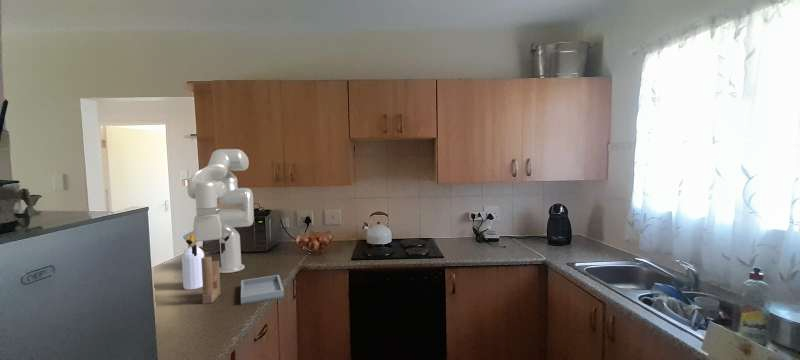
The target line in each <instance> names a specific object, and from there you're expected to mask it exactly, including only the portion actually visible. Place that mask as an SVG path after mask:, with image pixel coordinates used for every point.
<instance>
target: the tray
mask: <svg viewBox="0 0 800 360" xmlns="http://www.w3.org/2000/svg"><path fill="white" fill-rule="evenodd" d="M283 298H285V289H284V286H283V283H282V279H281V276H280V274H273V275H269V276H261V277H256V278H255V277H254V278H248V279H241V280H240V305H241V306H242V305H249V304H254V303H260V302H265V301H272V300H276V299H283Z"/></svg>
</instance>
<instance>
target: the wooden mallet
mask: <svg viewBox="0 0 800 360" xmlns="http://www.w3.org/2000/svg"><path fill="white" fill-rule="evenodd" d="M201 263H202V281H203V287H202V293H203V294H202V304H203V305H204V304H205V305H206V304H212V303H214V302H215V300H216V299H217V298H218V297H219V296H220V295H221V279H220V278H221V273H220V270H219V268H220V260H213V259H212V256H204V257H203V258H202V259H201Z"/></svg>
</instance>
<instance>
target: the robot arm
mask: <svg viewBox="0 0 800 360" xmlns="http://www.w3.org/2000/svg"><path fill="white" fill-rule="evenodd" d="M249 164H250V162H249V157H248V156H247V154H246V153H245V152H244V151H243V150H241V149H238V148H228V149H227V148H223V149H222V148H220V149H217V150H214V151H213V152H212V153H211V156H210V159H209V161H208V163H207V165H206V166H204V167H203V168H201V169H199V170H197V171H196V172H194V173H193V174H192V175H191V177H190V179H189V181H188V183H187V195H188V197H189V198H191V199H193V200H195V213H196V215H195V216H194V218H193V227H192V228H193V230H191V231H190V232H188V233H186V234H184V235H183V237H182V238H183V240H184V241H185V242H186V244H187V245H188V244H189V245H190V246H191V247H192V254H194V256H196V255H197V247H198V245H197V246H196V243H197V244H198V242H203V241H204V242H206V241H215V240H219V252H220V256H219V257H220V266H219V270H220V274H231V273H235V272H237V273H238V272H240V271H243V270H244V269H245V264H243V263H242V252H241V250H242V248H241V235H240V233H239V231H238V230H237V229H235V228H244V227H250V226H252V225H253V223H254V219H255V217H254V216H255V215H254V214H255V211H254V194H253V191H252V190H251V188H249V187H248V188H247V187H238V178H237V176H236V175H235V174H234V173H233V172H234V171H235V172H238V171H246V170H247V169H248V168H249ZM232 171H233V172H232ZM218 199H219V203H220V206H222V207H226V208H227V209H222V208H219V207H218ZM230 207H231V209H230ZM233 207H243V208H233ZM228 208H229V209H228ZM191 235H193V237H194V241H193V242H192V241H191V240H189V236H191Z"/></svg>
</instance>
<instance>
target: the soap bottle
mask: <svg viewBox="0 0 800 360" xmlns="http://www.w3.org/2000/svg"><path fill="white" fill-rule="evenodd" d="M188 238H189V240H191V241H192V242H193V241H194V237H193V235H191V236H189V237H188ZM196 246H197V255H196V256H194V254H192V247H191V246H190V245H189V244H188V243H187V248H186V249H185V250H184V251H183V253H182V256H181V266H182V267H181V268H182V283H183V286H182V287H183V289H184V290H187V291H188V290H190V291H191V290H195V289H196V290H197V289H200V288H203V281H202V263H201V259H202V258H203V257H205V253H204V250H203V249H201V248H200V247H198V242H197V243H196Z"/></svg>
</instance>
